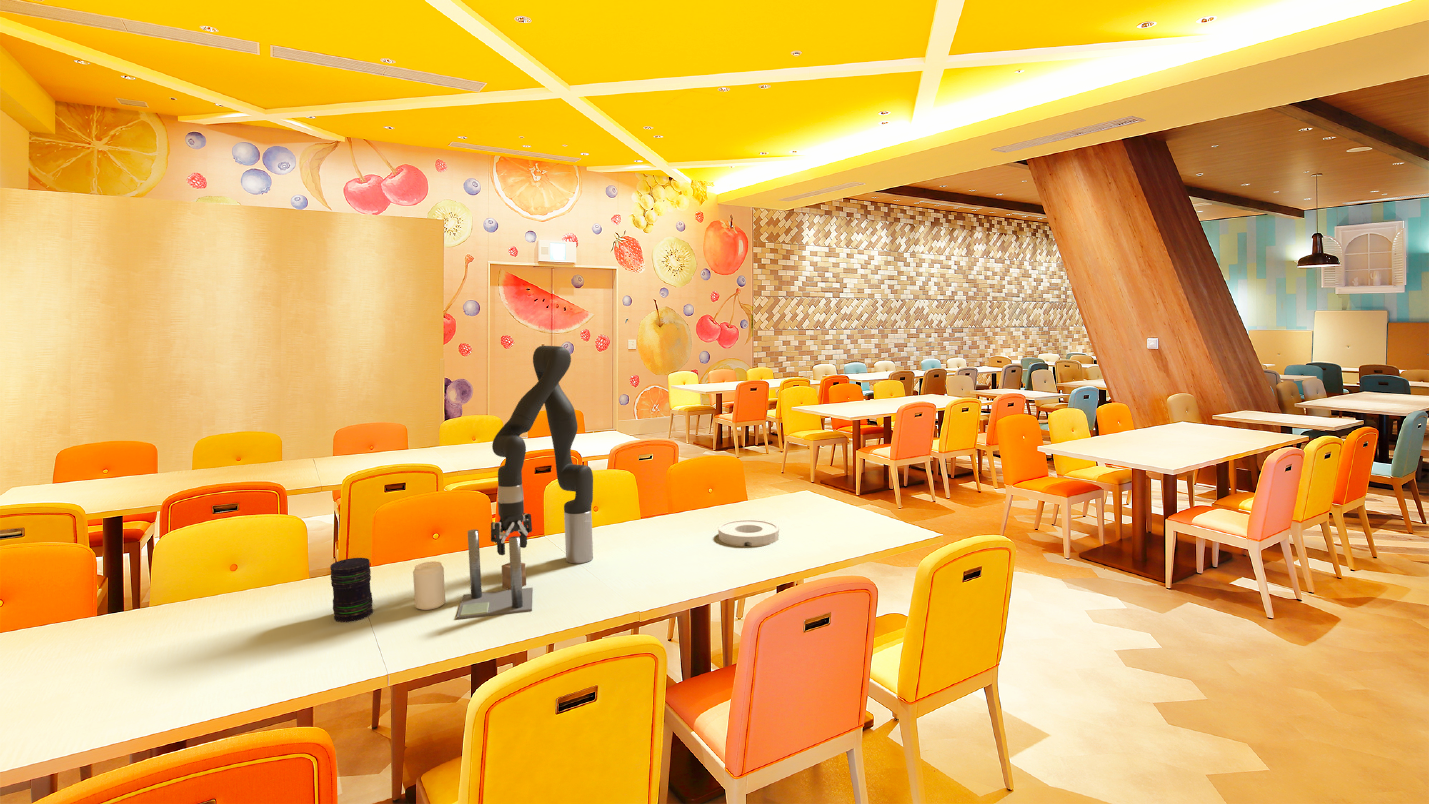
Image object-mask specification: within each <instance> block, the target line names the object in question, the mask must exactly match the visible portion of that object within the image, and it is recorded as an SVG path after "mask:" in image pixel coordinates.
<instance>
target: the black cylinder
mask: <svg viewBox="0 0 1429 804" xmlns="http://www.w3.org/2000/svg"><path fill="white" fill-rule="evenodd" d="M370 563H371V562H370V559H369V558H366V557H353V558H346V559H340V560H338V561H335V562H333V563H332V564H330V568H329V569H330V580H331V581H330V583H331V588H332V593H333V595H332V596H333V599H332V610H333V615H334V616H333V619H334V621H335V622H338V623H349V622H350V623H351V622H357V621H360V620H364V619H366V618H368V617H371V616H372V614H373V610H374V609H373V603H374V602H373V601H374V600H373V595H372V589H371V580H372V579H371V578H372V576H371V573H372V572H371V565H370Z"/></svg>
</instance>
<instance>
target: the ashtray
mask: <svg viewBox="0 0 1429 804" xmlns="http://www.w3.org/2000/svg"><path fill="white" fill-rule="evenodd" d="M717 528H718V540H719V541H720V542H722V543H724V544H727V545H731V546H734V547H735V546H737V547H745V545H747V546H750V547H760V546H761V547H762V546H767V545H771V544H773V543H776V542H777V541H779V540H780V539H779V537H780V536H779V534H780V526H779V525H778V524H777V523H774V522H772V521H768V520H767V521H766V520H760V519H738V520H737V519H735V520H730V521H727V522H724V523H722V524H720V525H719V526H718V527H717Z"/></svg>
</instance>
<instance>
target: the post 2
mask: <svg viewBox="0 0 1429 804" xmlns="http://www.w3.org/2000/svg"><path fill="white" fill-rule="evenodd" d="M519 536H520V535H517V536H515V535H514V536H510V537H508V547H509V548H508V550H509V553H508V554H509V563H510V575H511V597H512V608H515V609H516V608H521V607H523V597H522V589H523V587H522V574H521V563H522V557H521V547H520V537H519Z"/></svg>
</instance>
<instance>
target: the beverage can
mask: <svg viewBox="0 0 1429 804" xmlns="http://www.w3.org/2000/svg"><path fill="white" fill-rule="evenodd" d="M442 564H443V563H442V562H440V561H436V560H434V561H431V560H430V561H426V562H425V561H424V562H421V563H418V564H416V565H415V566H414V570H413V571H412V574H413V576H412V577H413V590H414V591H413V592H414V606H415V608H416V609H418V610H419V609H420V610H422V611H423V610H424V611H431V610H435V609H438V608H440V607H442V606H443V605H444V604H445V603H446V588H445V587H446V585H445V568H444V566H443V565H442Z"/></svg>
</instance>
